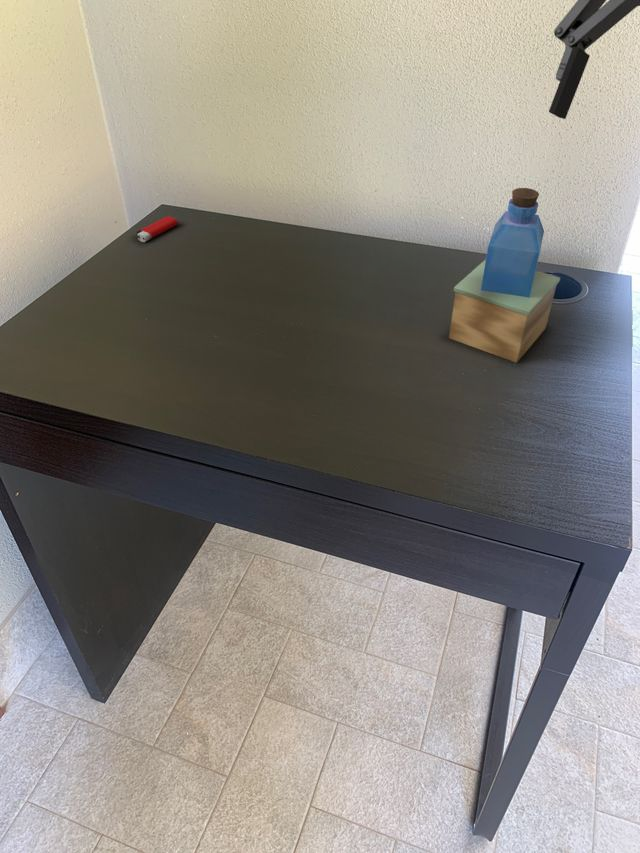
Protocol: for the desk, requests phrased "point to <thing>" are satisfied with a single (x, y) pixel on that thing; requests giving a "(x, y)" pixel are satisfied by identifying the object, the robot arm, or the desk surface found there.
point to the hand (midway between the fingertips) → (613, 127)
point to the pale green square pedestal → (500, 315)
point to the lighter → (156, 228)
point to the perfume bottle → (514, 247)
